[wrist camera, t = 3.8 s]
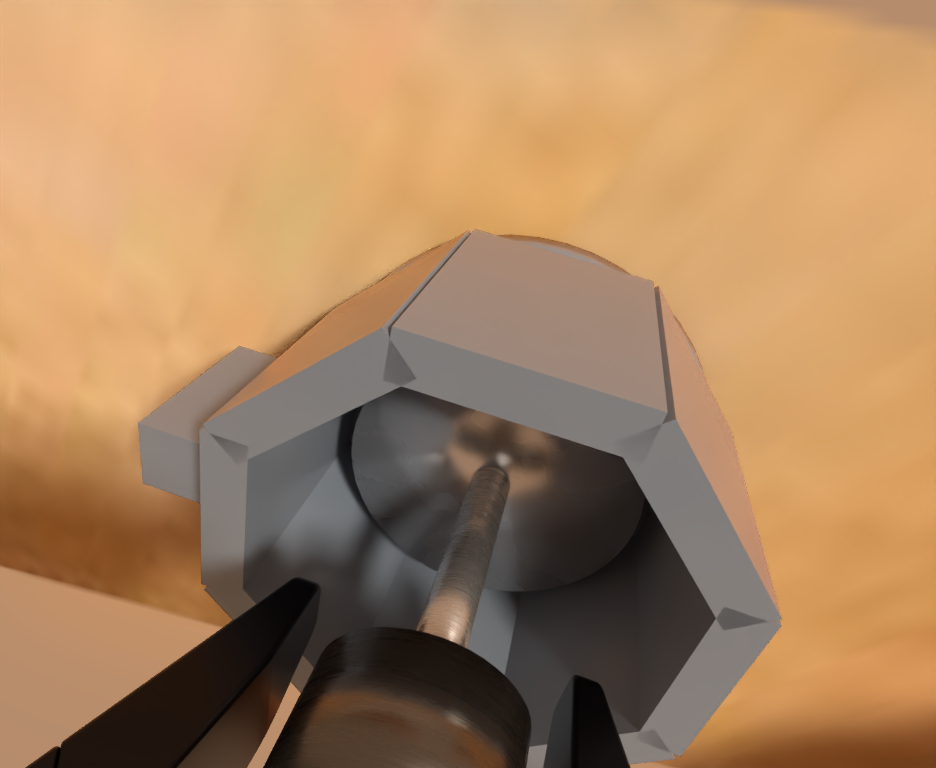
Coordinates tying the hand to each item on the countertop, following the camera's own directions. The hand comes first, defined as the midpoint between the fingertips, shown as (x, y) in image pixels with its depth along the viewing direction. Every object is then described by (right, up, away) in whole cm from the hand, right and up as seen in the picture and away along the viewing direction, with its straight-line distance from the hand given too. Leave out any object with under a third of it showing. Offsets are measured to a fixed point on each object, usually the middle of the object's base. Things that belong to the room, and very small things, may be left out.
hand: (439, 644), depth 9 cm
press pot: (+1, +3, +5) cm, 6 cm away
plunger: (+1, +2, +4) cm, 5 cm away
